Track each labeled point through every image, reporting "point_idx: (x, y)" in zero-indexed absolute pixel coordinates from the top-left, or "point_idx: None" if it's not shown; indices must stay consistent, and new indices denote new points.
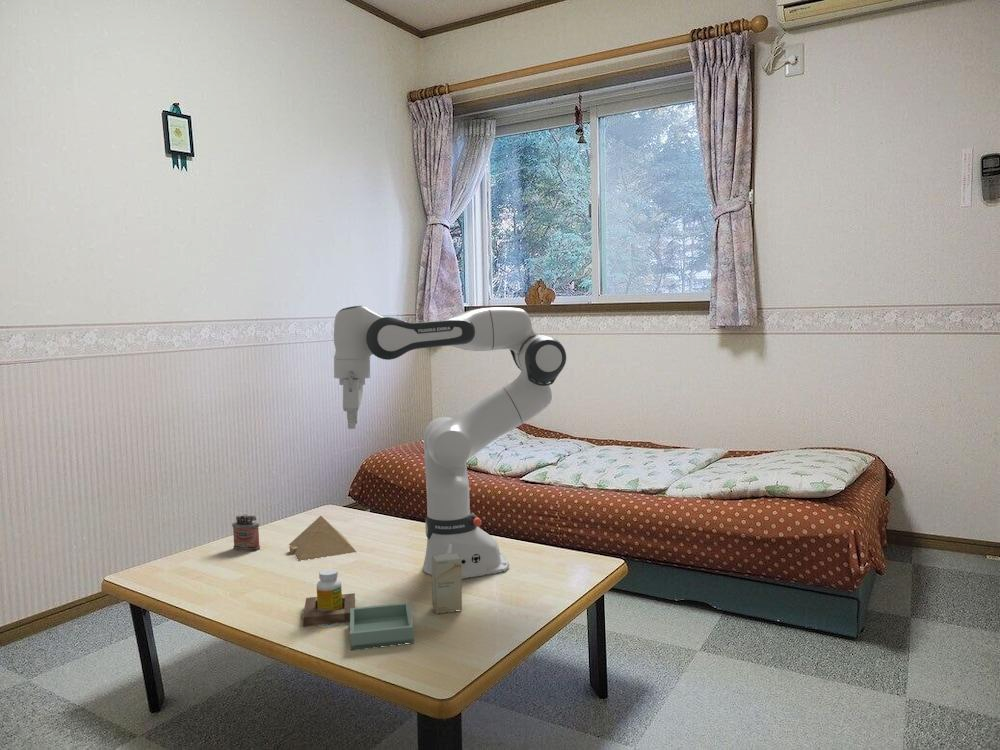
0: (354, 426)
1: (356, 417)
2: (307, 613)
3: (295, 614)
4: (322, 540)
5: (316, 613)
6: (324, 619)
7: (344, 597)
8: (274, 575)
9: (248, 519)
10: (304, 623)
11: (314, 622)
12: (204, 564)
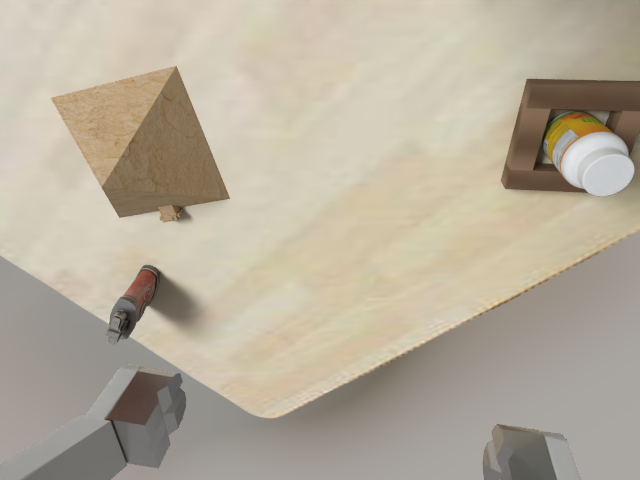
0: (568, 454)
1: (116, 422)
2: None
3: (532, 198)
4: (170, 162)
5: None
6: None
7: (548, 109)
8: (305, 237)
9: (122, 323)
10: None
11: None
12: (224, 334)
